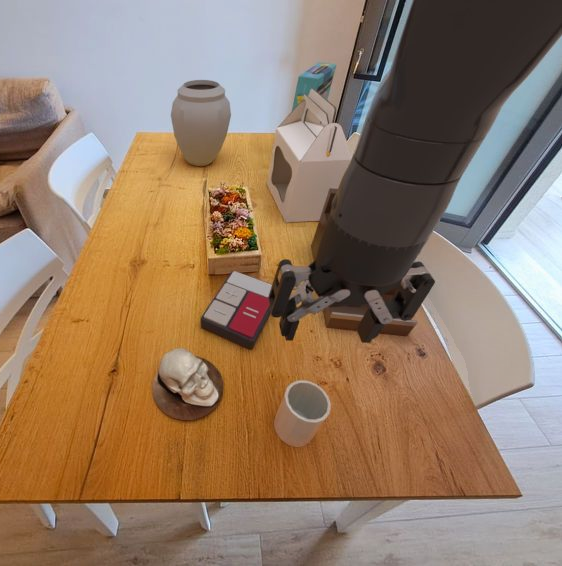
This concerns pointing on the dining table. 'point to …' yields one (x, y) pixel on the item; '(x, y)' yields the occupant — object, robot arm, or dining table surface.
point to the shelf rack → (353, 315)
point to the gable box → (307, 159)
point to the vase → (200, 120)
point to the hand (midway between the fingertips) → (324, 335)
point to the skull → (186, 385)
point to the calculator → (239, 310)
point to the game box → (314, 82)
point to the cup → (301, 413)
